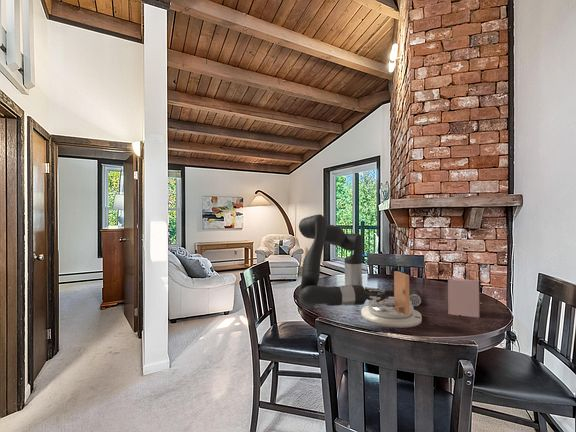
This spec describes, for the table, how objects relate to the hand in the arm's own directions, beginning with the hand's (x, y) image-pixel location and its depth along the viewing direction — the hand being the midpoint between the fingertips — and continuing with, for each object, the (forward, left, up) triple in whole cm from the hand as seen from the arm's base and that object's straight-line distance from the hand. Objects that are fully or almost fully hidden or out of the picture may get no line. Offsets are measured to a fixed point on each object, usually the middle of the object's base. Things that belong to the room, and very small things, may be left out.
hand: (393, 293), depth 116 cm
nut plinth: (-8, -4, -12) cm, 15 cm away
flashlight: (-38, -5, -13) cm, 40 cm away
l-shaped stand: (-6, -3, -10) cm, 12 cm away
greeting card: (-30, +18, -13) cm, 37 cm away
